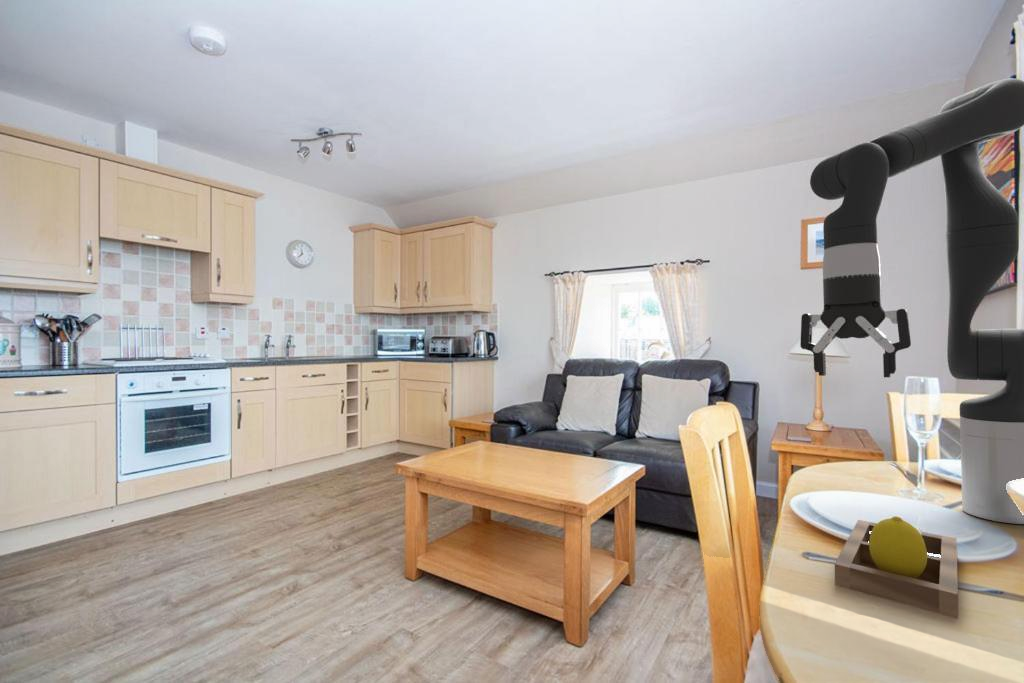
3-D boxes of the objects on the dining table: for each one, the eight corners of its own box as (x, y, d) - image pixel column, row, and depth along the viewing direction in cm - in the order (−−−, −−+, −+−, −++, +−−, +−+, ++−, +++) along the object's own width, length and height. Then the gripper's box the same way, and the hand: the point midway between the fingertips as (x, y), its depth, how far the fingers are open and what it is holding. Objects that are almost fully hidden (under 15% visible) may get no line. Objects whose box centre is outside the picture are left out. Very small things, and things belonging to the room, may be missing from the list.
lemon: (906, 572, 61) (905, 510, 61) (939, 595, 56) (938, 526, 56) (859, 570, 62) (859, 508, 62) (887, 592, 56) (887, 524, 56)
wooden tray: (858, 546, 73) (858, 519, 73) (957, 567, 66) (956, 538, 66) (835, 596, 58) (834, 563, 58) (958, 632, 51) (957, 594, 51)
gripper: (794, 278, 79) (797, 377, 79) (906, 267, 69) (910, 379, 69) (804, 281, 84) (807, 373, 84) (909, 272, 75) (912, 375, 75)
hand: (853, 376), depth 77 cm, fingers open, 8 cm apart
